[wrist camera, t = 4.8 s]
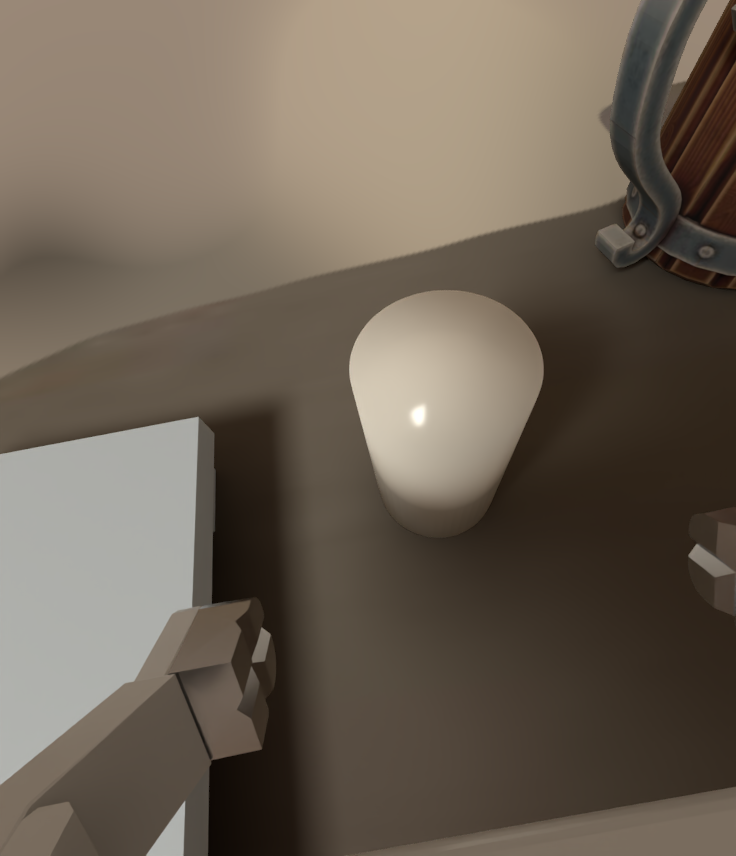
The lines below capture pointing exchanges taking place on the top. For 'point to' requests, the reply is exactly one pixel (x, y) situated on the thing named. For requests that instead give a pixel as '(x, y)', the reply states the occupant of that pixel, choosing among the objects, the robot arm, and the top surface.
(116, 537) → the shelf
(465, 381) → the white rounded cylinder
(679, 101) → the mug
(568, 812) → the top surface
